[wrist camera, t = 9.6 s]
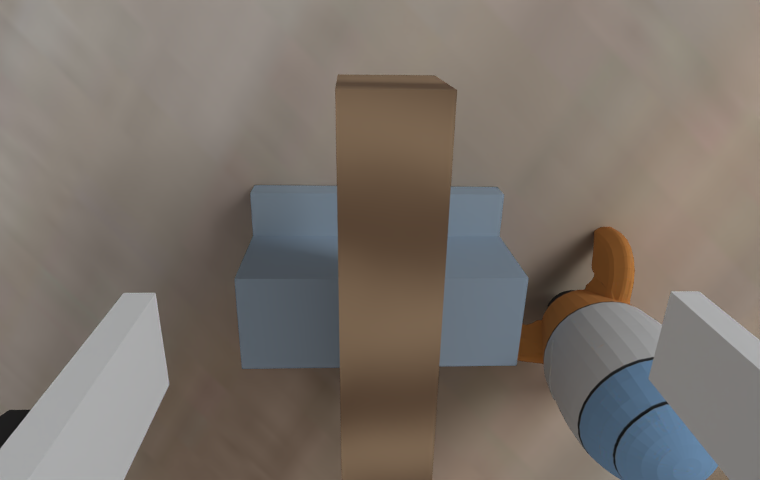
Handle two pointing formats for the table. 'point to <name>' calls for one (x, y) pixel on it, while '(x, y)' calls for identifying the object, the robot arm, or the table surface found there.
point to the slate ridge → (321, 290)
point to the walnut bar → (391, 268)
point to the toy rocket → (612, 373)
